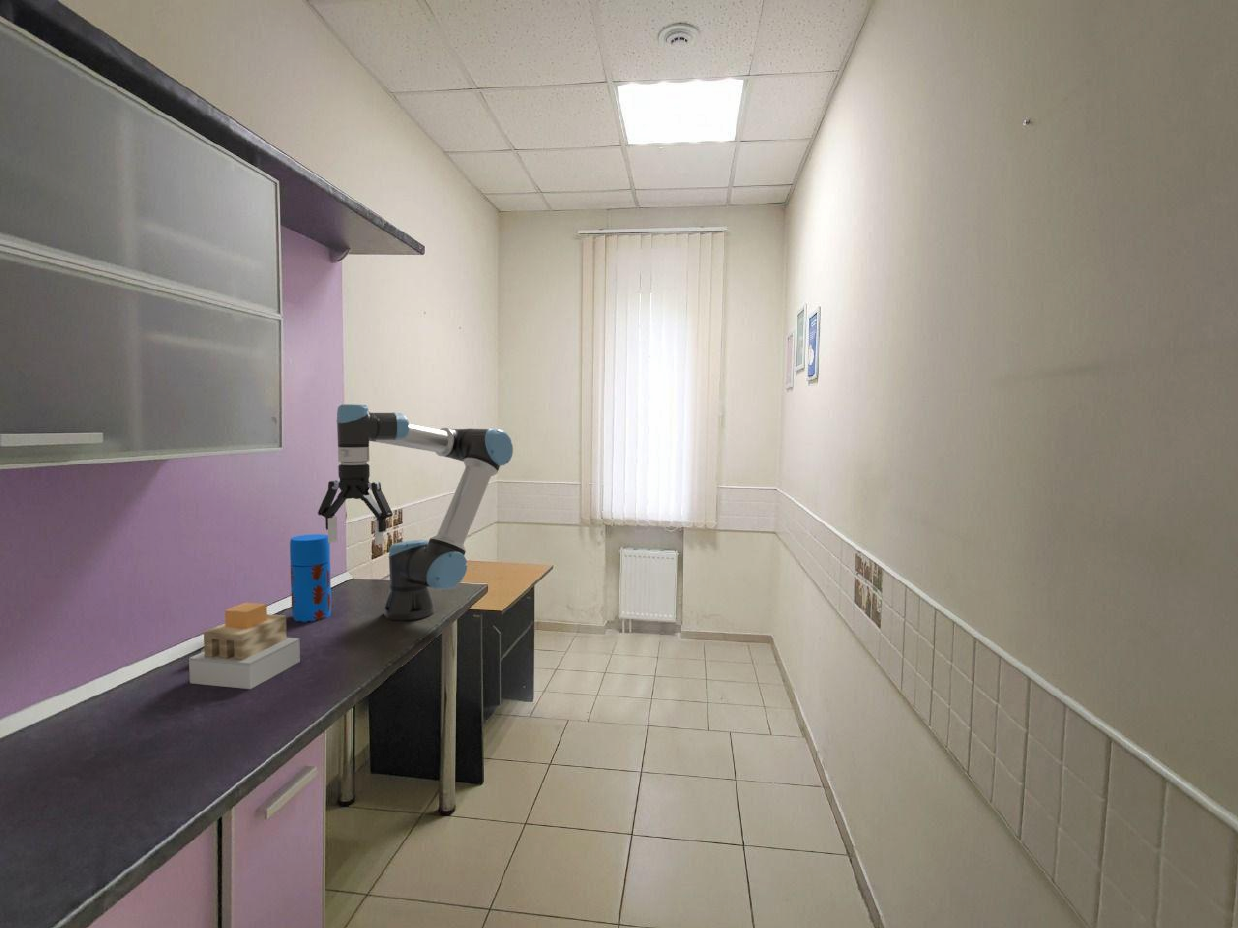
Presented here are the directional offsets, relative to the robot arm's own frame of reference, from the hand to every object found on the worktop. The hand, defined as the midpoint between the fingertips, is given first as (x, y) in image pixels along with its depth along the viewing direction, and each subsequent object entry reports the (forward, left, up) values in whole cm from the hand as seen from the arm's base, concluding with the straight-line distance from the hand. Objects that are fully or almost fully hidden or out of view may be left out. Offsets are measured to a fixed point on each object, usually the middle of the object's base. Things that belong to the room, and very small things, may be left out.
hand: (355, 543), depth 158 cm
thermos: (-21, -30, -29) cm, 47 cm away
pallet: (+19, -17, -23) cm, 34 cm away
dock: (+19, -17, -29) cm, 38 cm away
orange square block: (+19, -17, -17) cm, 30 cm away
